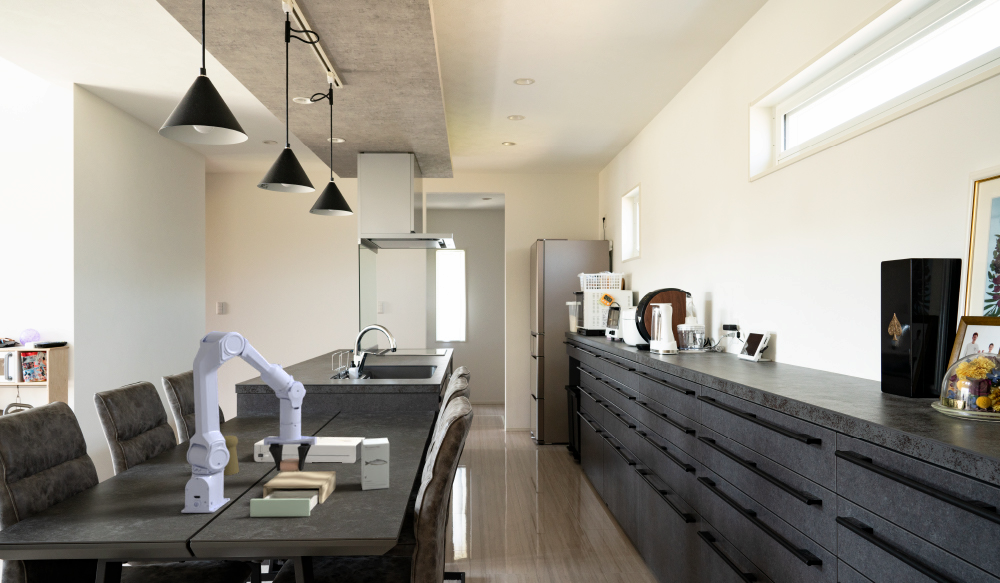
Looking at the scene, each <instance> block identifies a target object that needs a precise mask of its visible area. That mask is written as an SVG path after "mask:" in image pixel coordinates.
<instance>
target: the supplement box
mask: <svg viewBox="0 0 1000 583" xmlns="http://www.w3.org/2000/svg"><path fill="white" fill-rule="evenodd" d="M388 439H389V438H388V437H380V438H379V437H378V438H367V439H362V440H361V458H360V459H361V460H360V461H361V462H360V463H361V464H360V466H361V468H360V472H361V473H360V483H361V488H362V491H366V490H377V489H378V490H379V489H389V488H390V442H389V440H388Z"/></svg>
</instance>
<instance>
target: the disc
mask: <svg viewBox="0 0 1000 583" xmlns="http://www.w3.org/2000/svg"><path fill="white" fill-rule="evenodd" d="M296 469H299V459H296V458H291V459H284V460H281V461H280V471H281V470H284V471H290V470H296Z"/></svg>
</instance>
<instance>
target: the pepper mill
mask: <svg viewBox="0 0 1000 583" xmlns="http://www.w3.org/2000/svg"><path fill="white" fill-rule="evenodd" d="M223 437H224V439H225V444H226V448H227V449H228V451H229V461H228V463H227V465H226V466H225V467H224V475H226V476H232V474H233V475H236V473H237V474H239V473H240V467H239V460H238V452H237V451H238V450H237V446H238V444H239V440H238V437H237V436H235V435H225V436H224V435H223ZM238 472H239V473H238Z"/></svg>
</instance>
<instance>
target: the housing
mask: <svg viewBox="0 0 1000 583" xmlns="http://www.w3.org/2000/svg"><path fill="white" fill-rule="evenodd" d="M336 472H337V471H333V470H331V471H321V470H320V471H300V472H281V471H279V472H278V473H277V474H276V475H274V477H273V478H271V479H270V480H268V481H267V482H266V483H265V484H263V486H262V488H263V490H262V495H263V496H262V499H264V498H265V497H266V496H268V495H269V494H270V493H271V492H272V491H284V490H318V491H319V502H318V504H324V502H325V501H326V500H327V499H328V498H329V496H330V495H331V494H332V493H333V492H334V491H335V489H336V474H337V473H336Z"/></svg>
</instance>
